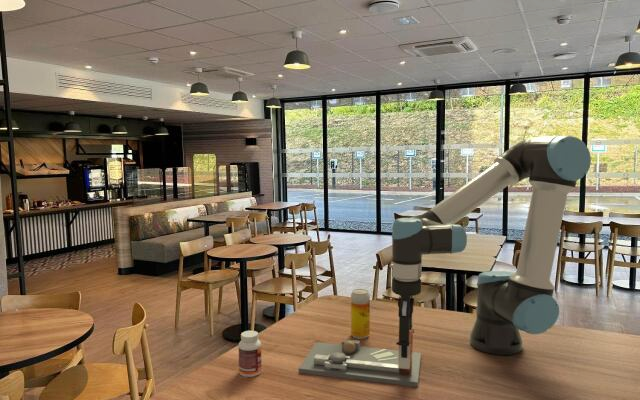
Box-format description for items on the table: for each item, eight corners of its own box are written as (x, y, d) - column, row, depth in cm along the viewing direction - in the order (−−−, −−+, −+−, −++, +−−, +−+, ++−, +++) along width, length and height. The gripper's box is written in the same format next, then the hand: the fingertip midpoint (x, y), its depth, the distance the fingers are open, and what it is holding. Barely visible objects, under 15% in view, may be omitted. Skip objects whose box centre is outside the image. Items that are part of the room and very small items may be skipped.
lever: (312, 366, 129) (311, 326, 128) (317, 358, 134) (317, 319, 133) (411, 378, 122) (411, 335, 121) (412, 368, 128) (413, 327, 126)
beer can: (368, 340, 150) (368, 294, 148) (349, 338, 151) (349, 293, 150) (370, 333, 156) (370, 289, 154) (352, 331, 157) (352, 288, 156)
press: (421, 356, 138) (421, 341, 138) (417, 386, 121) (417, 369, 120) (316, 345, 146) (315, 331, 146) (298, 372, 129) (298, 355, 128)
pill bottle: (262, 376, 127) (262, 337, 126) (239, 379, 126) (238, 339, 124) (260, 366, 133) (259, 328, 132) (238, 368, 132) (237, 330, 130)
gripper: (395, 267, 133) (394, 346, 135) (387, 287, 114) (386, 377, 117) (422, 269, 131) (421, 348, 133) (419, 289, 112) (417, 381, 115)
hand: (405, 362), depth 125 cm, fingers open, 6 cm apart
